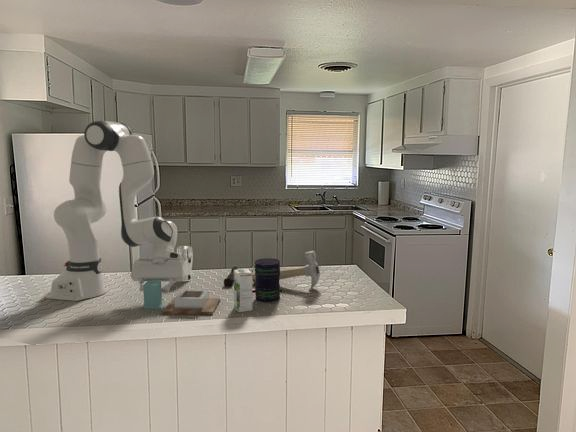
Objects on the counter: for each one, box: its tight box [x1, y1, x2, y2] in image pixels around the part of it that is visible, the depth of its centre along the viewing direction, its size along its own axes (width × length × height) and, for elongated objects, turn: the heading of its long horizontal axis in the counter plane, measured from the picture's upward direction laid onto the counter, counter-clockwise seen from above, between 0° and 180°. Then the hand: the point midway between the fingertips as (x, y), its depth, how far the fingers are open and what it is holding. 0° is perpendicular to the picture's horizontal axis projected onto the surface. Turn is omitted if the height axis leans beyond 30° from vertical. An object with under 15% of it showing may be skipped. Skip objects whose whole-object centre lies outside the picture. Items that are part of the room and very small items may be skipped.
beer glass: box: [176, 245, 194, 283], centre depth 197 cm, size 7×7×15 cm
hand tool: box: [223, 266, 238, 288], centre depth 197 cm, size 19×4×5 cm, turn 174°
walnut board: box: [161, 297, 221, 315], centre depth 163 cm, size 18×14×1 cm
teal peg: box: [142, 281, 163, 310], centre depth 164 cm, size 5×5×9 cm
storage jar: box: [254, 258, 281, 304], centre depth 171 cm, size 10×10×15 cm
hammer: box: [252, 250, 321, 292], centre depth 187 cm, size 16×5×30 cm
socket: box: [174, 289, 210, 310], centre depth 162 cm, size 10×10×4 cm
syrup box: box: [233, 268, 253, 313], centre depth 160 cm, size 6×6×14 cm
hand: (154, 290), depth 165 cm, fingers open, 8 cm apart
